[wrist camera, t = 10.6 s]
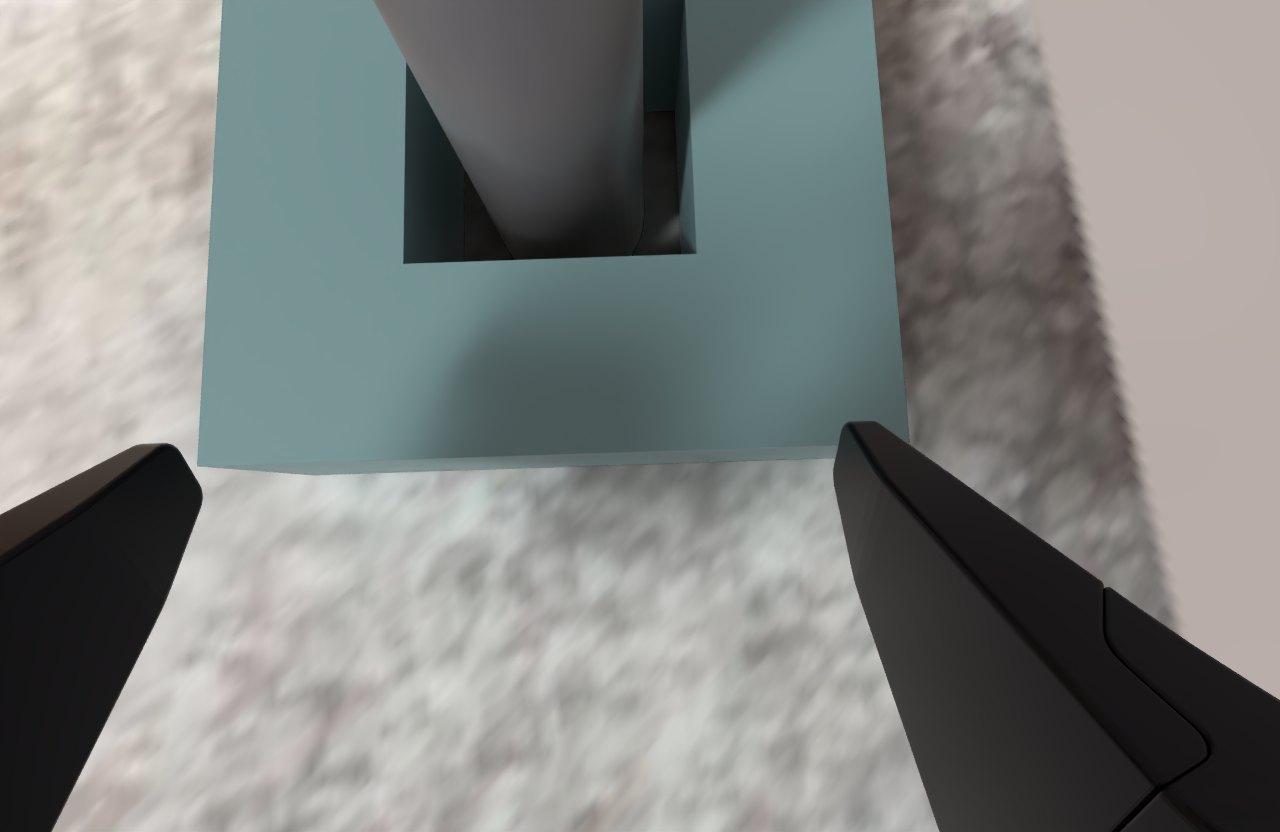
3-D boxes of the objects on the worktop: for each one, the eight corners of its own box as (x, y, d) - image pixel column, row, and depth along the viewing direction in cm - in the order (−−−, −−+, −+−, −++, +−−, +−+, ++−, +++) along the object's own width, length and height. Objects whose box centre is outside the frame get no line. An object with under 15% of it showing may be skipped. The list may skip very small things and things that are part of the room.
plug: (581, 313, 18) (414, -173, 5) (470, 225, 18) (47, -442, 5) (673, 205, 18) (740, -509, 5) (562, 121, 19) (378, -738, 6)
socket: (841, 457, 17) (909, 443, 13) (312, 475, 17) (196, 466, 13) (806, -22, 19) (856, -182, 15) (327, -6, 19) (231, -160, 15)
